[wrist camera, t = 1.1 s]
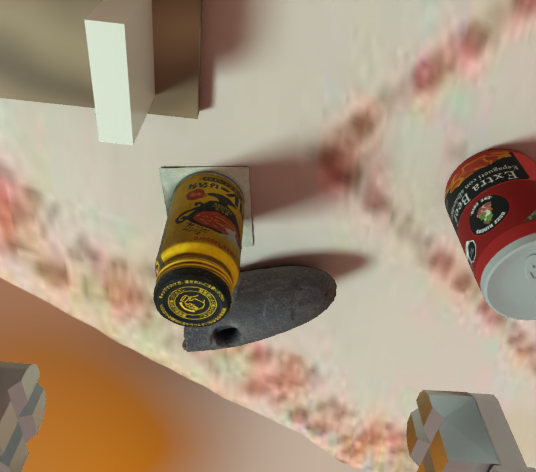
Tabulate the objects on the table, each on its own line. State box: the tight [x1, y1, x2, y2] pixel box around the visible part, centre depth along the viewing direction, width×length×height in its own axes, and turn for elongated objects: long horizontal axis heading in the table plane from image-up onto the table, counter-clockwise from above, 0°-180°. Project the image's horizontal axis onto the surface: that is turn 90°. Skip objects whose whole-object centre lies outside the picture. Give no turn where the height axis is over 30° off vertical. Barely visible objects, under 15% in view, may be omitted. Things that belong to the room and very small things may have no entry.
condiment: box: [154, 167, 253, 327], centre depth 39 cm, size 7×8×12 cm
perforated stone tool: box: [182, 266, 337, 352], centre depth 46 cm, size 15×5×7 cm, turn 105°
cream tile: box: [84, 0, 155, 145], centre depth 30 cm, size 7×2×7 cm, turn 174°
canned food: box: [445, 149, 536, 320], centre depth 37 cm, size 8×8×11 cm
